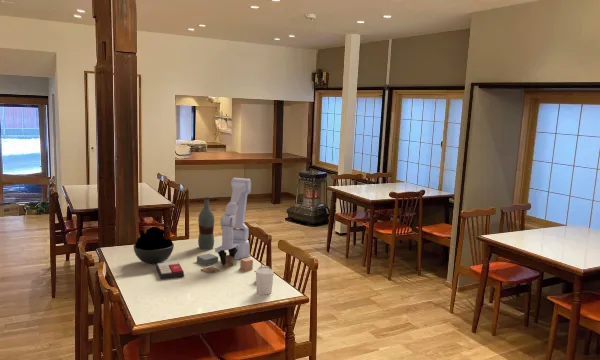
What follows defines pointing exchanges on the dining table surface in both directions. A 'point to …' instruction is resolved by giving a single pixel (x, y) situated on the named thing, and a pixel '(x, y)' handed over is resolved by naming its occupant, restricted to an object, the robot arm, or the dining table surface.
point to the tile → (210, 270)
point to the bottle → (206, 227)
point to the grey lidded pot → (264, 267)
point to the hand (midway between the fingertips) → (227, 263)
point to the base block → (207, 259)
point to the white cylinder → (264, 280)
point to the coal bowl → (153, 246)
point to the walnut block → (228, 261)
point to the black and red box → (169, 270)
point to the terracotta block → (246, 264)
